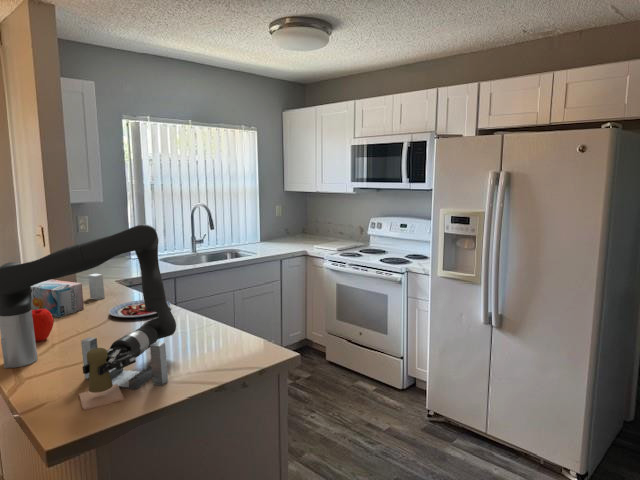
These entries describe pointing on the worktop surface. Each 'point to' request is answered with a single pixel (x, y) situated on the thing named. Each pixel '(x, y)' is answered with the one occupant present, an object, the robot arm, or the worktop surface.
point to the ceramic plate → (132, 309)
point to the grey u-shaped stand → (134, 377)
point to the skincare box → (96, 286)
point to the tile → (100, 397)
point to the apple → (42, 323)
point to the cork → (97, 381)
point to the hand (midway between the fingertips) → (91, 371)
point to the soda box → (57, 297)
